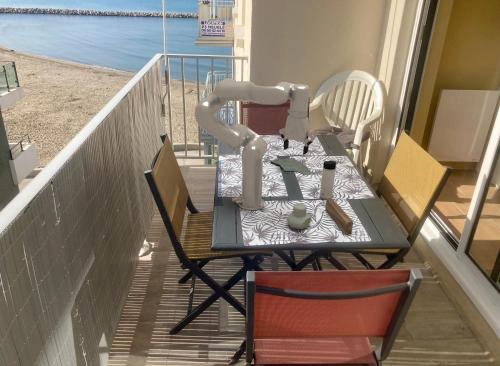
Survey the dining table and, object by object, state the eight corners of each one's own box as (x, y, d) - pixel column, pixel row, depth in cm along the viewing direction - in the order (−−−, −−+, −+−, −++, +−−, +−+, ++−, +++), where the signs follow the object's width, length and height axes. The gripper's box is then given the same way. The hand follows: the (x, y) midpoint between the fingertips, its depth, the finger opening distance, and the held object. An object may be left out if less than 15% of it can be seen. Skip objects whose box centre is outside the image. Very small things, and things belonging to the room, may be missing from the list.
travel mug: (323, 201, 207) (327, 164, 198) (317, 195, 212) (321, 159, 204) (334, 200, 208) (339, 163, 200) (328, 194, 214) (333, 158, 205)
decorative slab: (313, 160, 256) (313, 157, 255) (314, 176, 235) (315, 173, 234) (271, 158, 258) (271, 155, 258) (268, 173, 237) (268, 170, 236)
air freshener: (297, 217, 191) (299, 198, 187) (312, 224, 187) (314, 204, 182) (283, 227, 184) (285, 207, 179) (299, 233, 179) (301, 213, 175)
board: (345, 234, 179) (346, 222, 177) (325, 210, 199) (326, 198, 196) (351, 233, 180) (353, 221, 178) (331, 209, 199) (332, 198, 197)
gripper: (276, 112, 179) (274, 149, 186) (312, 119, 170) (309, 158, 178) (285, 108, 184) (282, 144, 192) (320, 115, 176) (316, 153, 183)
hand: (295, 151), depth 185 cm, fingers open, 9 cm apart
